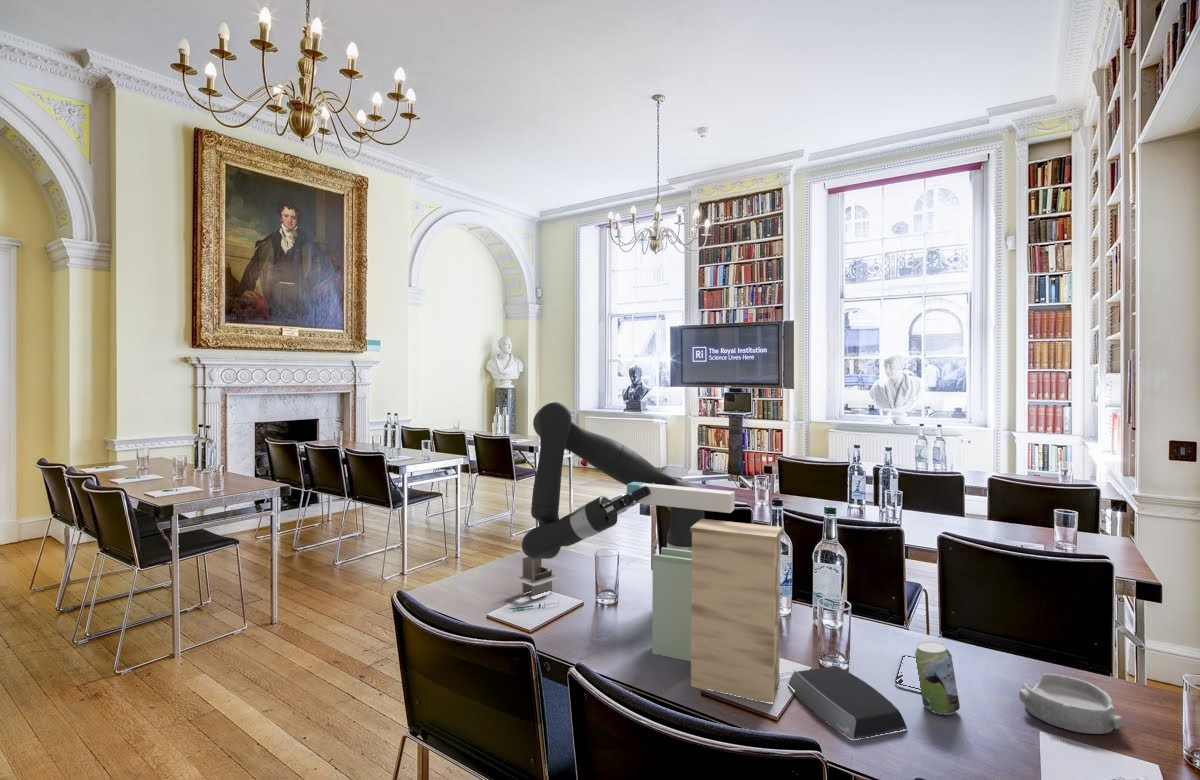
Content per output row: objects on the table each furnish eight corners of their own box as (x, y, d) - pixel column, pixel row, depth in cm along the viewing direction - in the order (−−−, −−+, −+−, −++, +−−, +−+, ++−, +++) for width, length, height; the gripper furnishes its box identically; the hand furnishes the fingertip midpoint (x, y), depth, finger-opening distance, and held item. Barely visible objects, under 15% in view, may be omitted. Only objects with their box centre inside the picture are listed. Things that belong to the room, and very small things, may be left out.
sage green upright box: (662, 641, 140) (662, 547, 140) (712, 651, 135) (713, 553, 135) (652, 653, 134) (652, 555, 134) (704, 664, 129) (705, 562, 129)
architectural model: (542, 581, 183) (542, 545, 183) (581, 595, 172) (581, 556, 172) (493, 597, 170) (493, 558, 170) (531, 612, 158) (531, 571, 158)
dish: (1016, 717, 109) (1016, 690, 109) (1026, 689, 119) (1026, 664, 119) (1121, 750, 99) (1121, 721, 99) (1122, 716, 110) (1122, 689, 110)
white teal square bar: (633, 498, 141) (633, 481, 141) (734, 509, 131) (734, 491, 131) (626, 501, 138) (627, 484, 138) (730, 513, 128) (730, 494, 128)
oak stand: (700, 668, 127) (701, 518, 127) (781, 685, 120) (782, 527, 120) (689, 687, 119) (690, 527, 119) (774, 706, 112) (775, 537, 112)
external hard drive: (848, 745, 101) (848, 721, 101) (784, 688, 120) (784, 668, 120) (911, 733, 105) (911, 710, 105) (839, 680, 123) (839, 660, 123)
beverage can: (965, 721, 108) (965, 655, 107) (920, 716, 109) (921, 651, 109) (951, 702, 114) (952, 640, 114) (910, 698, 115) (910, 637, 115)
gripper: (573, 509, 138) (633, 477, 132) (599, 498, 151) (655, 469, 144) (587, 539, 136) (649, 508, 130) (612, 525, 149) (669, 497, 143)
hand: (651, 488), depth 137 cm, fingers closed on white teal square bar, 4 cm apart
